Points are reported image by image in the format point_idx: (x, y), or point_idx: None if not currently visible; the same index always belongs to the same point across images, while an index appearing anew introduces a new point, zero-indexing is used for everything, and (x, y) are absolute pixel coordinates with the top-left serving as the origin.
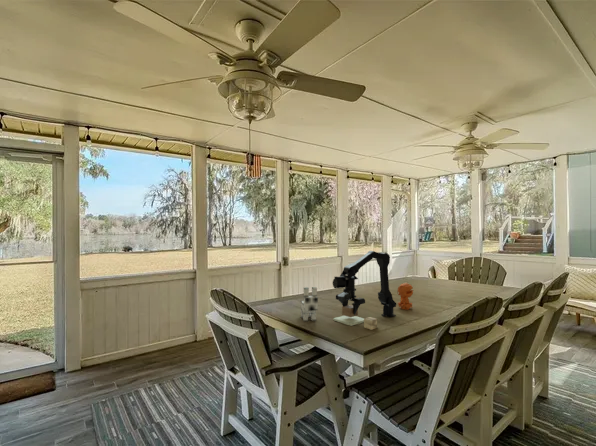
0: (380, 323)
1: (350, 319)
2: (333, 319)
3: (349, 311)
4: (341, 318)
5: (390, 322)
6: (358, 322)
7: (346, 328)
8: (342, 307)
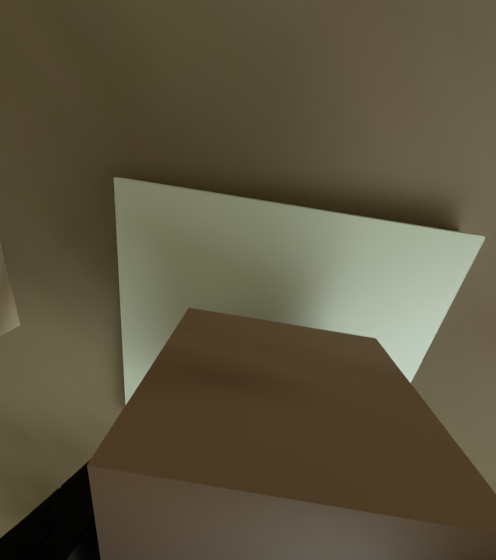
0: (27, 425)
1: None
2: (466, 233)
3: (177, 380)
4: (363, 304)
5: (9, 476)
6: (126, 318)
7: (87, 6)
8: (481, 492)
